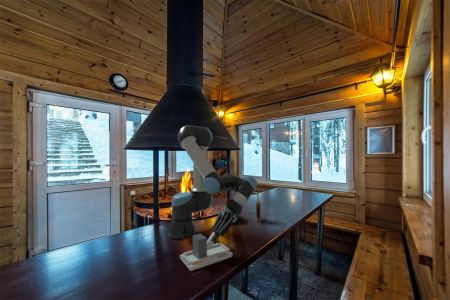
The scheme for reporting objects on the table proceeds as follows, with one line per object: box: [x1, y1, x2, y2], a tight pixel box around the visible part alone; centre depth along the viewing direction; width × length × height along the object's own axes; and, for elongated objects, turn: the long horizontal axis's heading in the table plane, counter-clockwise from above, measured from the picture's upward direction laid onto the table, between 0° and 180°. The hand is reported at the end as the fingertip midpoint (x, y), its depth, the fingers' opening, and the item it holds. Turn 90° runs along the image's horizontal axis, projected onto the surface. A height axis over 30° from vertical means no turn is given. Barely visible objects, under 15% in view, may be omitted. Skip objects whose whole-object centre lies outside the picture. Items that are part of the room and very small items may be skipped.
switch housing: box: [179, 242, 233, 272], centre depth 87 cm, size 20×12×2 cm, turn 122°
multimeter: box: [255, 191, 270, 225], centre depth 136 cm, size 15×10×20 cm
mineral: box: [222, 205, 243, 220], centre depth 140 cm, size 18×16×10 cm
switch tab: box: [192, 233, 208, 259], centre depth 86 cm, size 4×6×8 cm, turn 32°
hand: (207, 247), depth 87 cm, fingers closed
